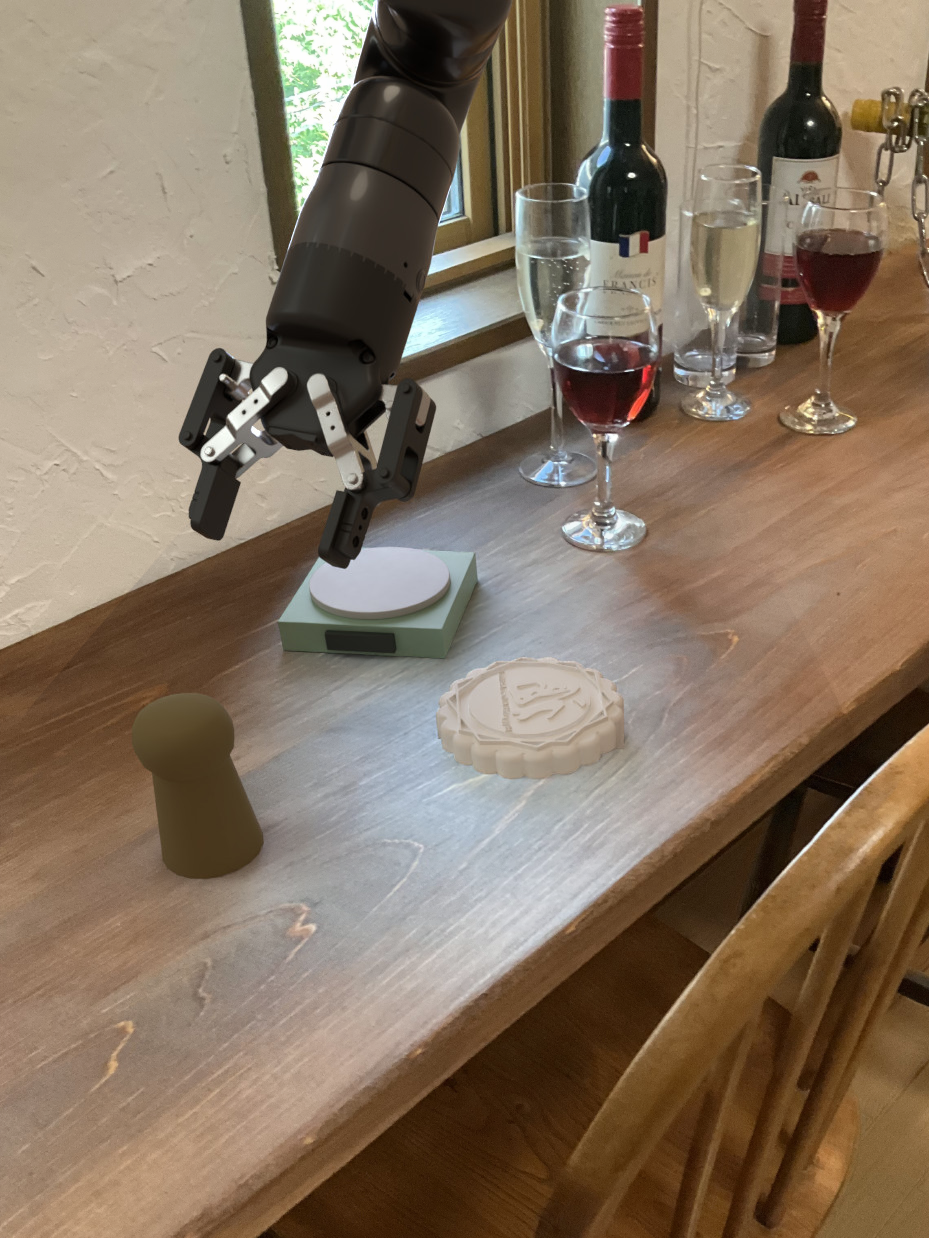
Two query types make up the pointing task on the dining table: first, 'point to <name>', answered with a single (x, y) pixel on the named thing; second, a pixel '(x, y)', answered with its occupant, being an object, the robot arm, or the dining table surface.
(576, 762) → the mooncake
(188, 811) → the cork
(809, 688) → the dining table surface
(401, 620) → the scale
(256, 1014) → the dining table surface
